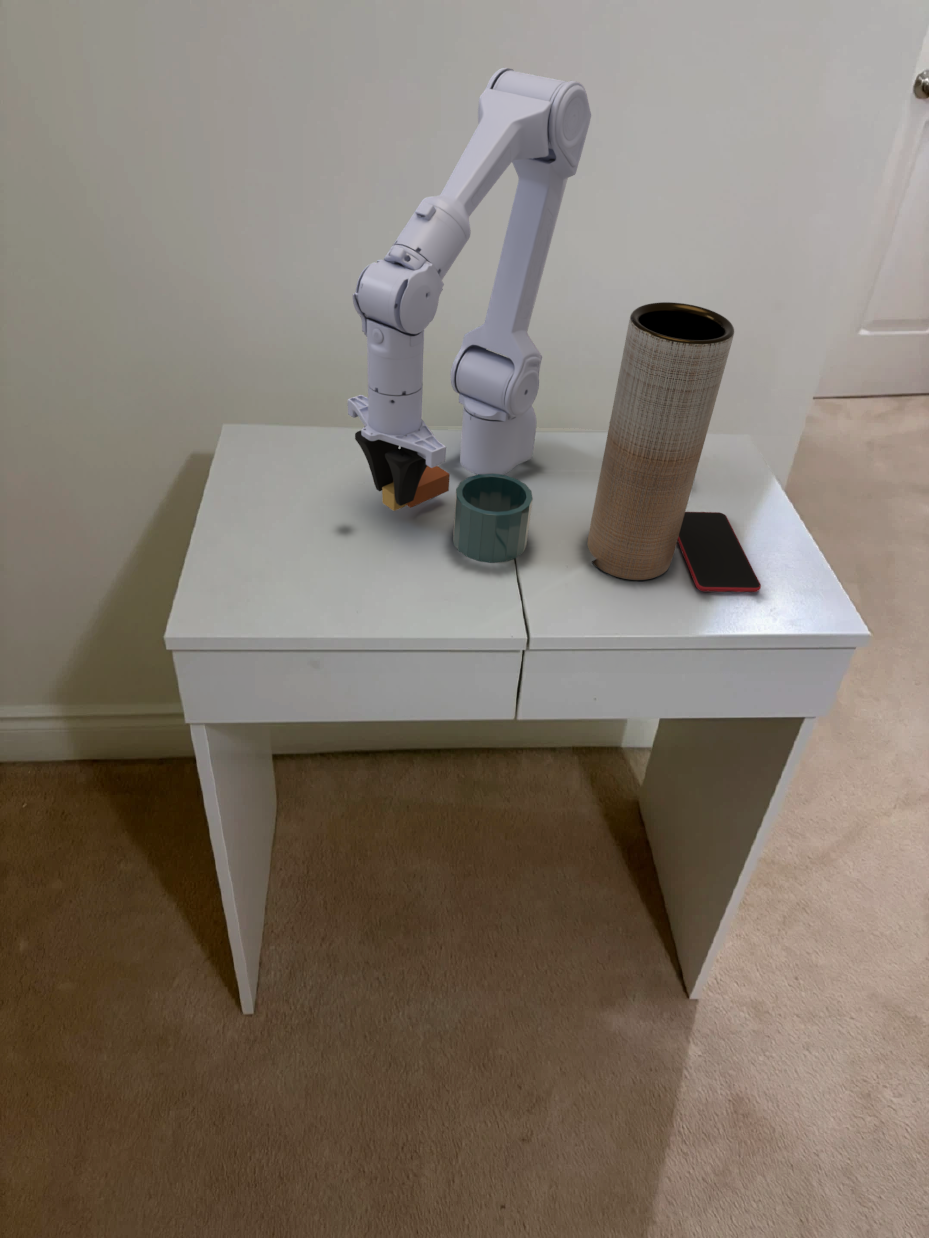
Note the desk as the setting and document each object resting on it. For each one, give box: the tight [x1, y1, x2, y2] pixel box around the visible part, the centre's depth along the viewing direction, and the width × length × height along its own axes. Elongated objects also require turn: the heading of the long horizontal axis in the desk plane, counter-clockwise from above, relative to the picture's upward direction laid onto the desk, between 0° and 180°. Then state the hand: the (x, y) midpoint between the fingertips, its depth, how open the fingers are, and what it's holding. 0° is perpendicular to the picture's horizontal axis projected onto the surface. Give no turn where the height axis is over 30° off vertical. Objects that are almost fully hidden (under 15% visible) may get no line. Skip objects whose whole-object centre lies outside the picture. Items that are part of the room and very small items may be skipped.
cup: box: [452, 473, 534, 564], centre depth 96 cm, size 8×8×8 cm
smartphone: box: [677, 511, 762, 593], centre depth 99 cm, size 7×1×15 cm
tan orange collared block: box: [381, 465, 451, 512], centre depth 99 cm, size 8×3×2 cm, turn 132°
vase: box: [586, 301, 735, 581], centre depth 90 cm, size 10×10×28 cm
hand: (394, 494), depth 97 cm, fingers closed on tan orange collared block, 3 cm apart
